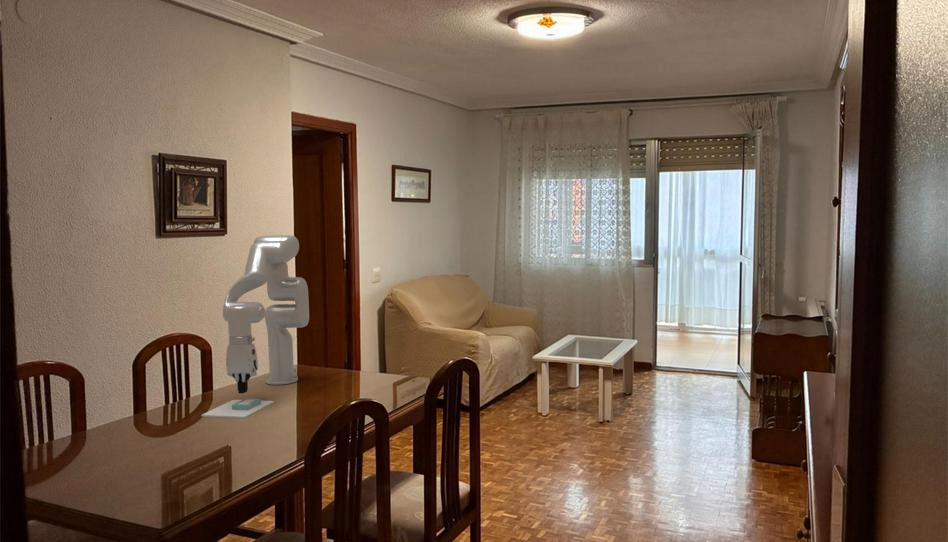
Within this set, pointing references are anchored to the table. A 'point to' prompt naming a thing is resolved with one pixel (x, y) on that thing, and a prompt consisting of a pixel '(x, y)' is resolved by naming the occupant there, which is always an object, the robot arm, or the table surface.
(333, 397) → the table surface
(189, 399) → the table surface
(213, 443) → the table surface
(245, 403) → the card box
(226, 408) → the mat
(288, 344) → the robot arm
